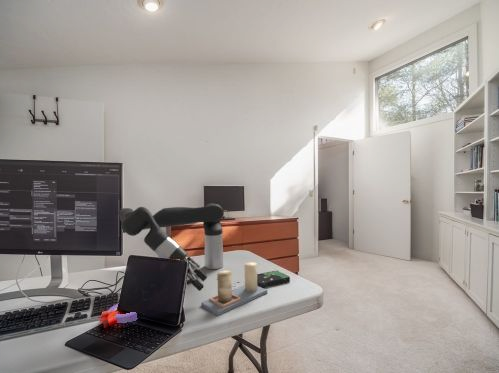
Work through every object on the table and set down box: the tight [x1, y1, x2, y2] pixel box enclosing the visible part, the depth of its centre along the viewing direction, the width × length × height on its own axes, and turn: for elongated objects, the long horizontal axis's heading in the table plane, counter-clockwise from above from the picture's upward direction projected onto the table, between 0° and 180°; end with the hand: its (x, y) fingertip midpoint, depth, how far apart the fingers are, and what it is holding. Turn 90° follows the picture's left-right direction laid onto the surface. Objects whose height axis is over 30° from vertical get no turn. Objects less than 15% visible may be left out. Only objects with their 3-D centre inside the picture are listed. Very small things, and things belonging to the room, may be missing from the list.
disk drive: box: [257, 270, 291, 289], centre depth 113 cm, size 10×3×15 cm
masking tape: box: [107, 303, 138, 323], centre depth 84 cm, size 12×12×4 cm
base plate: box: [200, 262, 268, 316], centre depth 96 cm, size 10×24×11 cm, turn 133°
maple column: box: [217, 269, 233, 303], centre depth 93 cm, size 5×5×10 cm
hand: (203, 283), depth 92 cm, fingers open, 8 cm apart
